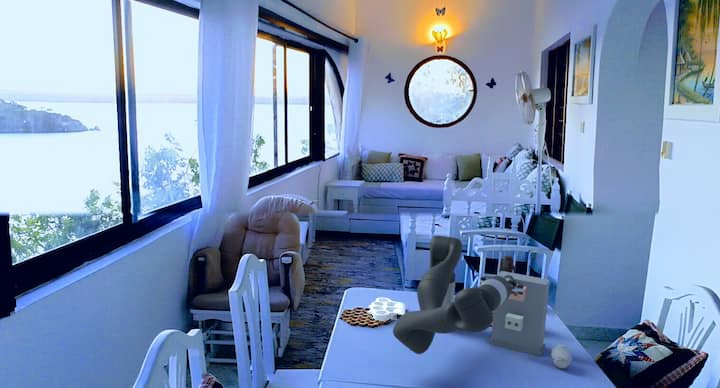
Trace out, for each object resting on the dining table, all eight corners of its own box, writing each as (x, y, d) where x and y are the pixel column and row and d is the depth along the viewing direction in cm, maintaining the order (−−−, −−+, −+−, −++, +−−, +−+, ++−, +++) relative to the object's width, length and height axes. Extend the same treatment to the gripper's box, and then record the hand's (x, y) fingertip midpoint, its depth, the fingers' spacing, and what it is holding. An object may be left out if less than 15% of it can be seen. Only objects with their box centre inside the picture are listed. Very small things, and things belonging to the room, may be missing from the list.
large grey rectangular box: (540, 356, 170) (547, 286, 166) (488, 343, 178) (494, 275, 174) (545, 347, 177) (551, 279, 173) (495, 335, 185) (500, 269, 181)
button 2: (520, 331, 167) (521, 320, 166) (504, 328, 169) (505, 316, 168) (522, 328, 170) (523, 316, 169) (507, 324, 172) (508, 313, 171)
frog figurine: (565, 361, 167) (567, 341, 166) (574, 372, 160) (577, 351, 159) (546, 361, 167) (548, 340, 166) (555, 372, 160) (557, 351, 159)
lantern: (516, 303, 216) (522, 232, 211) (513, 310, 209) (519, 237, 204) (496, 300, 219) (502, 230, 214) (492, 306, 212) (498, 234, 207)
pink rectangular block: (522, 302, 165) (523, 289, 164) (506, 298, 168) (507, 286, 167) (525, 298, 168) (526, 286, 167) (509, 295, 170) (510, 283, 170)
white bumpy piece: (404, 325, 191) (364, 322, 193) (405, 307, 209) (369, 304, 210) (405, 317, 191) (365, 314, 192) (406, 299, 208) (369, 296, 210)
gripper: (518, 284, 138) (533, 270, 152) (470, 274, 144) (489, 262, 159) (516, 311, 139) (530, 295, 153) (467, 300, 145) (486, 286, 160)
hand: (509, 278), depth 156 cm, fingers closed
